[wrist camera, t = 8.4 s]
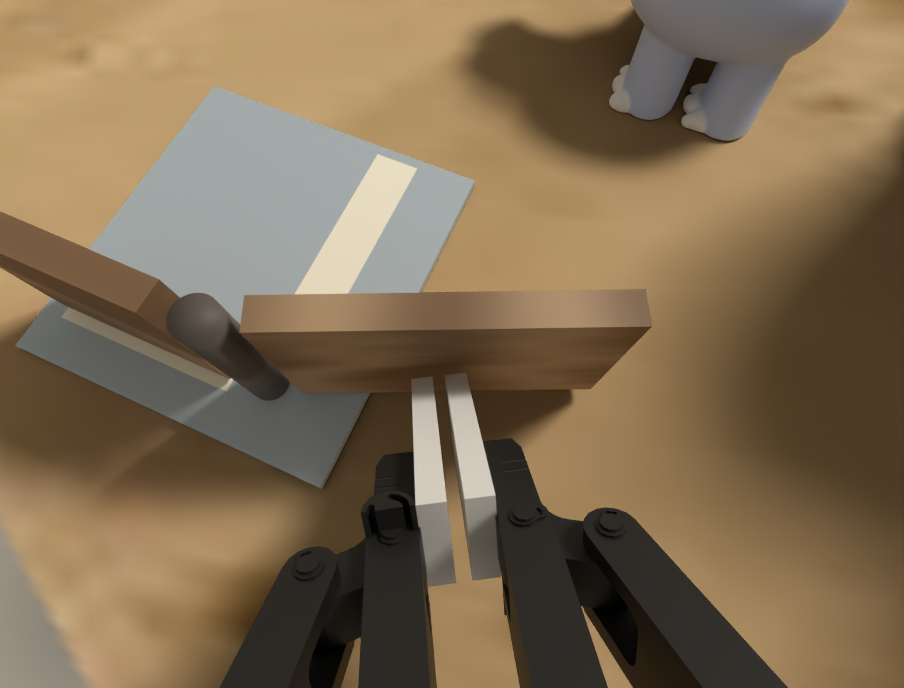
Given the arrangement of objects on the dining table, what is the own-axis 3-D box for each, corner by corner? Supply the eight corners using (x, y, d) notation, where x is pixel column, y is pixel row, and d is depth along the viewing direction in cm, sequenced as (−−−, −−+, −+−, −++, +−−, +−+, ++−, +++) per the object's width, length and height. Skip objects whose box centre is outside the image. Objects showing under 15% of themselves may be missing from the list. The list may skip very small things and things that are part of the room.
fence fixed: (93, 285, 24) (-60, 179, 17) (298, 375, 23) (228, 301, 15) (71, 315, 24) (-96, 218, 16) (280, 408, 22) (198, 348, 15)
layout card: (217, 92, 28) (214, 85, 28) (474, 185, 26) (474, 180, 26) (21, 348, 23) (14, 345, 23) (322, 488, 21) (320, 488, 21)
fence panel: (302, 393, 22) (239, 332, 15) (305, 366, 22) (244, 294, 15) (590, 388, 22) (651, 326, 15) (587, 361, 22) (645, 289, 16)
